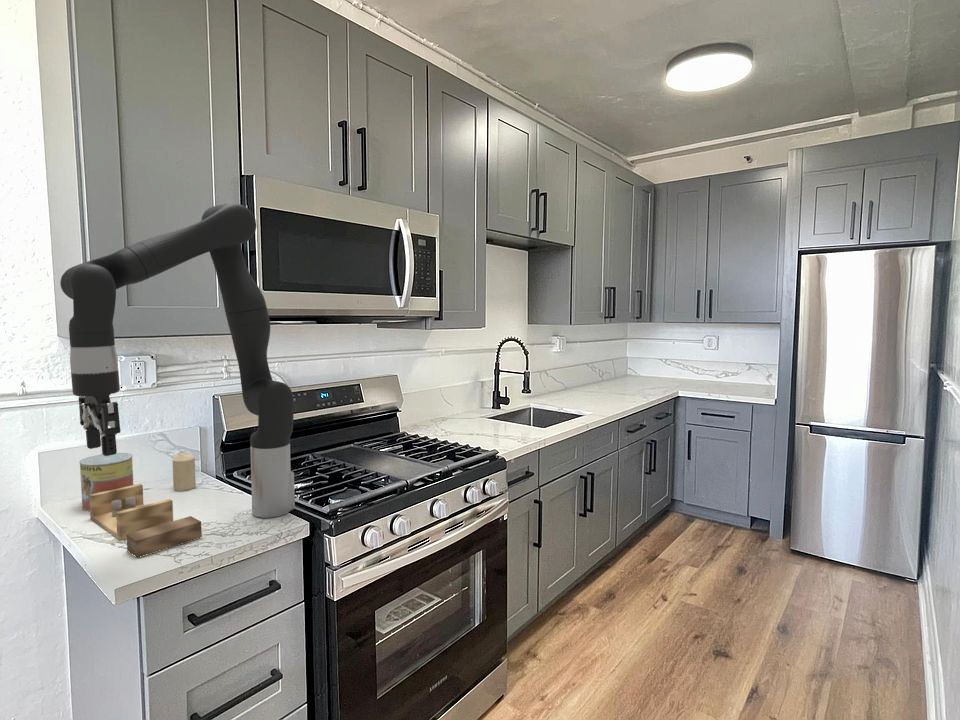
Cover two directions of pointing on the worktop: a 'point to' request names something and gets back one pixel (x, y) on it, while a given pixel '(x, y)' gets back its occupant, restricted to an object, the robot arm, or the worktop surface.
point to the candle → (184, 472)
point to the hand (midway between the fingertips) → (101, 451)
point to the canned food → (104, 474)
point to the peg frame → (128, 511)
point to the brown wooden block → (163, 536)
